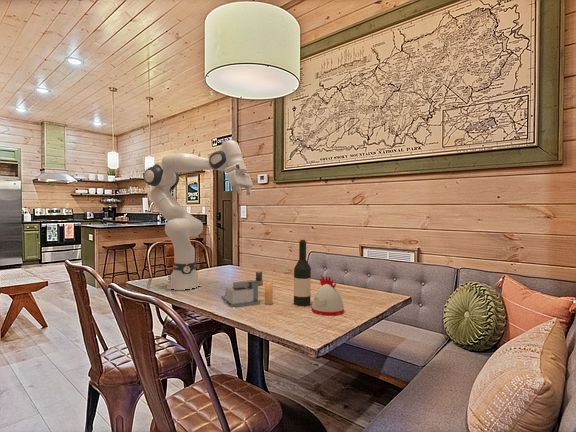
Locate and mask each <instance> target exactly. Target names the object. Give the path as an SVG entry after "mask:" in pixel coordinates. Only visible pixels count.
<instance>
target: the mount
mask: <svg viewBox="0 0 576 432" xmlns="http://www.w3.org/2000/svg"><path fill="white" fill-rule="evenodd" d="M248 281H253V279H252V280H248ZM258 295H259V286H258V283H257V282H252V283H251V287H244V288H233V286H225V295H221V296H220V299H221V298H222V299H223V300H222V299H221V300H222V301H224V302H225V301H226V302H227V303H226V302H225V303H226V304H227V305H229V306H230V305H231V306H230V307H232V308H233V307H235V308H242V307H248V306H249V305H250V306H257V305H261V301H259V296H258ZM250 306H249V307H250Z"/></svg>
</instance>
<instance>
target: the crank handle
mask: <svg viewBox="0 0 576 432" xmlns="http://www.w3.org/2000/svg"><path fill="white" fill-rule="evenodd" d="M252 280H253V279H252ZM252 282H257V283H258V287H263V285H264V280H263V271H255V279H254V280H253V281H249V280H246V281H245V280H244V281H242V280H241V281H234V282H233V283H232V287H233V288H244V287H251V283H252Z"/></svg>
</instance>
